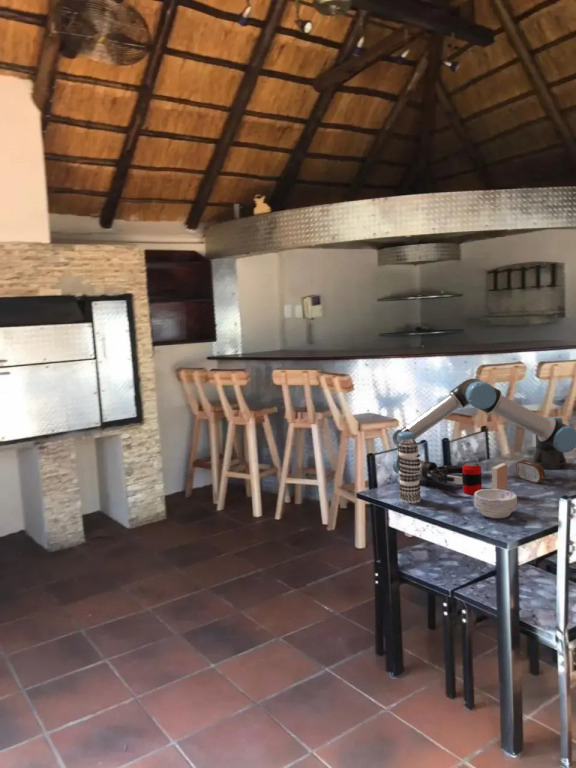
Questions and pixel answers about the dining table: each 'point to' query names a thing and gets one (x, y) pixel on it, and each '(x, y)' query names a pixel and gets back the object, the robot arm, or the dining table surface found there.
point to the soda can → (471, 478)
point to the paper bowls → (495, 502)
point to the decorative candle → (409, 471)
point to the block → (499, 477)
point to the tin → (530, 471)
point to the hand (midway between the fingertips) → (470, 476)
